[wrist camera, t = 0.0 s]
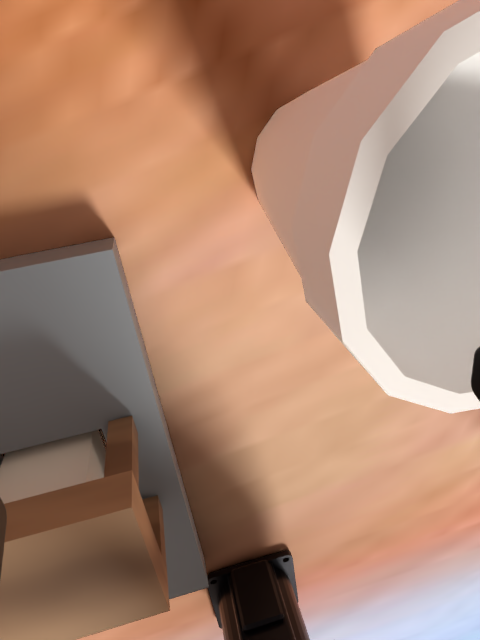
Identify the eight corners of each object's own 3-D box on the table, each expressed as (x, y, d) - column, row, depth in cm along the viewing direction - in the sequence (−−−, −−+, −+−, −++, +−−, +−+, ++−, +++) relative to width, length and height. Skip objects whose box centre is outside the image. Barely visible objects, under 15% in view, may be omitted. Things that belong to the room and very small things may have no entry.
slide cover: (162, 509, 25) (169, 610, 20) (-7, 556, 24) (-44, 676, 19) (132, 415, 22) (131, 507, 17) (-64, 464, 21) (-128, 578, 16)
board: (204, 560, 31) (209, 589, 29) (32, 611, 30) (25, 646, 28) (114, 237, 20) (112, 250, 18) (-167, 291, 19) (-201, 312, 17)
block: (115, 476, 26) (111, 558, 22) (39, 496, 26) (17, 585, 21) (94, 418, 24) (84, 495, 20) (10, 438, 24) (-21, 523, 19)
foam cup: (176, 154, 19) (237, 218, 8) (338, -2, 18) (686, -190, 7) (297, 294, 24) (450, 467, 12) (435, 176, 22) (746, 246, 11)
